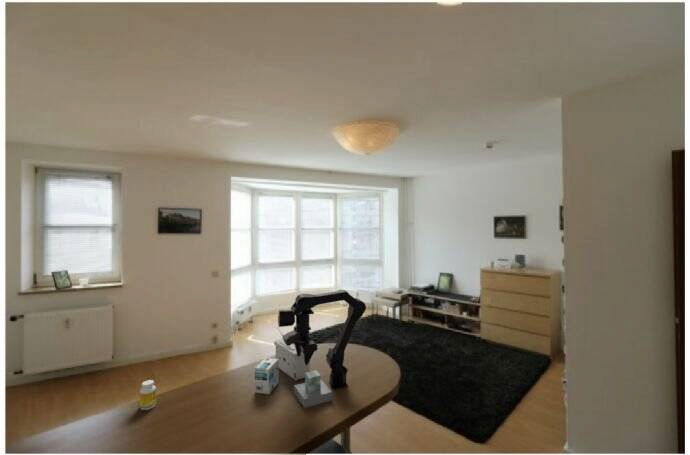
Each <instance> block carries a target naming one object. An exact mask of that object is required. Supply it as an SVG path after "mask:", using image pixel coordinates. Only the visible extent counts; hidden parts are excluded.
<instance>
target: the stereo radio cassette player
mask: <svg viewBox="0 0 690 455" xmlns="http://www.w3.org/2000/svg"><path fill="white" fill-rule="evenodd" d="M276 329H278V331H279V333H280V335H281V336H283V335H284V334H283V333H282V331H281V330H280V329H279V326H278V327H276ZM273 344H274V346H275V359H278V360H279V368H278V370H279V369H280V371H283V373H285V374H287V375H288V377H290V378H291V379H292V380H294V381H298V380H301V379H305V373H306V372H311V371H310V369H311V368H310V367H311V362H310V361H311V360H310V361H309V363H308V365H305V361H304V353H302V352H301V355H300V356H299V357H298V356H297V352H296V349H295V345H294V343H293V344H291V345H289V346H287V345H286V344H285V343H284V340H283V338H280V339H277V340H274V342H273Z"/></svg>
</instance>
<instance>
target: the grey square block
mask: <svg viewBox="0 0 690 455" xmlns="http://www.w3.org/2000/svg"><path fill="white" fill-rule="evenodd" d="M294 393H295V394H294ZM293 394H294V395H295V397H296V396H297V397H296V398H297V400H298V399H299V400H298V401H299V403H300V402H301V403H300V404H301V406H302V405H303V406H302V407H303V408H304V409H306V408H305V407H307V408H310V407H314V406H317V405H320V404H324V403H327V402H331V401H333V391H332V390H331V389H330V388H329V386H327V385H326V384H325V382H324V381H323V380H322V379H321V390H318V391H314V392H310V393H309V392H308V390H307V389H306V387H305V382H302V383H298V384H295V385H293ZM309 406H310V407H309Z"/></svg>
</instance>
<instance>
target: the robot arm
mask: <svg viewBox="0 0 690 455" xmlns="http://www.w3.org/2000/svg"><path fill="white" fill-rule="evenodd" d="M342 301H344V302H345V303H347V304H348V309H347V317H346V319H345V322H344V323H343V327H342V329H341V331H340V334H339V336H338V339H337V341H336V343H335V345H334V347H333V348H331V347H329V348H328V352H327V354H325V357H326V359H325V361H326V362H327V364H328V367H329V368H330V369H331V370H330V374H329V382H328V383H329V384H330V386H331V387H333V389H335V390H337V389H340V388H344V387H347V386H349V384H348V382H347V373H348V371H349V370H348V368H347V366H346V365H345V363H344V360H345V351H346V348H347V346H348V343H349V341H350V338H351V336H352V334H353V331H354V329H355V327H356V325H357V322H358V321H359V319H361V318H362V316H363V315H364V313H365V312H366V310H367V306H366V304H365V302H364V301H362V300H361V299H359V298H356V297H353V295H351V294H350V292H348V291H347V290H345V289H341V290H337V291H336V290H335V291H329V292H324V293H318V294H311V293H299V294H298V295H297V296H295V299H294V303H293V304H292V305H291V307H290V309H279V310H278V316H277V325H278V328H281V327H283V328H284V327H292V326H294V327H293V330H291V331H288V332H287V333H284V334H282V335H283V336H282V335H281V336H282V339H283V340H284V343H285V344H286V345H287V346H289V345H291V344H293V343H294V345H295V349H296V352H297V356H298V357H299V356H300V355H301V352H302V353H304V361H305V365H308V363H309V361H311V359H312V357H313V355H314V353H315V352H317V351H318V344H317V343H316V342H314V341H313V340H312V336H310V331H311V330H312V327H311V326H310V315H314V314H315V312H314V310H312V308H315V307H316V306H319V305H324V304H330V303H335V302H342Z"/></svg>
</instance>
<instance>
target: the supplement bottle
mask: <svg viewBox="0 0 690 455" xmlns="http://www.w3.org/2000/svg"><path fill="white" fill-rule="evenodd" d="M139 400H140V401H139V406H140V407H139V408H140V409H141V410H142V411H147V410H148V411H149V410H150V409H153V408H154V407H155V406H156V405H157V387H156V385H155V381H154V380H153V379H149V380H144V381H143V382H142V383H141V388H140V390H139Z"/></svg>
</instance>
